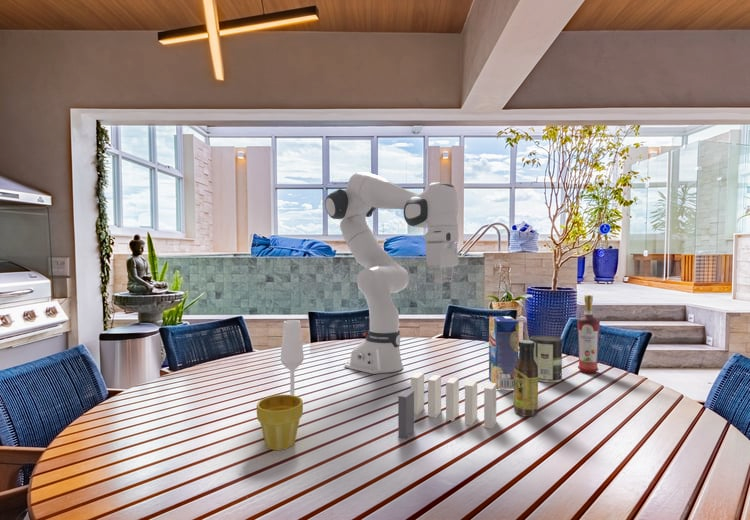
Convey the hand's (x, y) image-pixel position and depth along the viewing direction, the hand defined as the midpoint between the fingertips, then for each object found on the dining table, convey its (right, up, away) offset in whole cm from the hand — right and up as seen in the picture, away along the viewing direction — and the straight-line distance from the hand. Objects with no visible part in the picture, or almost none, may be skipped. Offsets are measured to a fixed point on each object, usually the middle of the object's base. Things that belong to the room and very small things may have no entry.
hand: (444, 282), depth 125 cm
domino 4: (0, -35, -13) cm, 38 cm away
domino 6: (+9, -35, -18) cm, 41 cm away
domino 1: (-13, -36, -23) cm, 44 cm away
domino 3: (-4, -35, -11) cm, 37 cm away
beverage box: (+22, -35, +14) cm, 43 cm away
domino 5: (+4, -35, -15) cm, 39 cm away
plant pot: (-43, -36, -28) cm, 63 cm away
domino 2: (-9, -35, -9) cm, 37 cm away
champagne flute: (-45, -35, -2) cm, 57 cm away
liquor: (+57, -34, +28) cm, 73 cm away
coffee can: (+39, -35, +21) cm, 56 cm away
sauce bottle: (+21, -35, -10) cm, 42 cm away
